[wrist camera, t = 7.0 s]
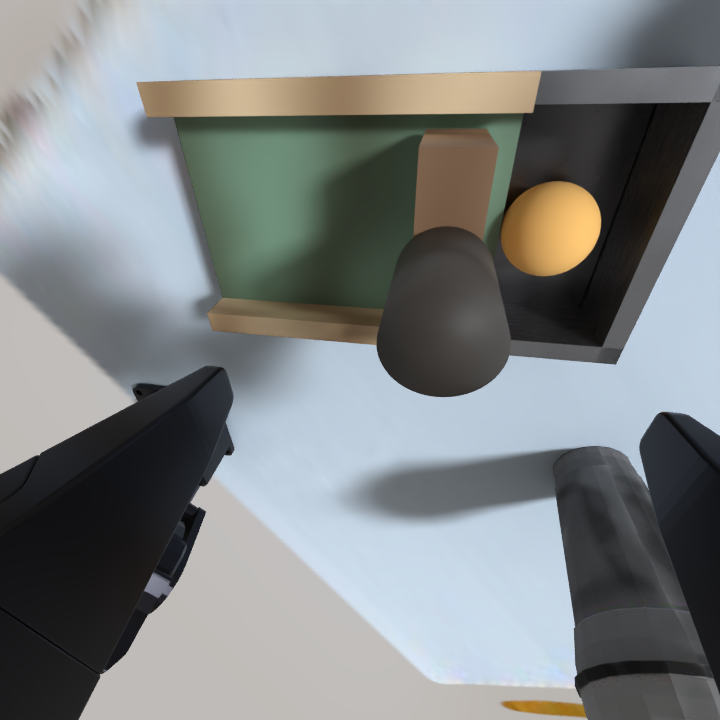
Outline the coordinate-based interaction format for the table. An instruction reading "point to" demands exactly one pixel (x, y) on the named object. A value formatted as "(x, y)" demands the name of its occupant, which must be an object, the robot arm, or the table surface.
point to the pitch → (324, 185)
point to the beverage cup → (626, 598)
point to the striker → (447, 275)
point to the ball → (550, 228)
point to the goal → (609, 198)
